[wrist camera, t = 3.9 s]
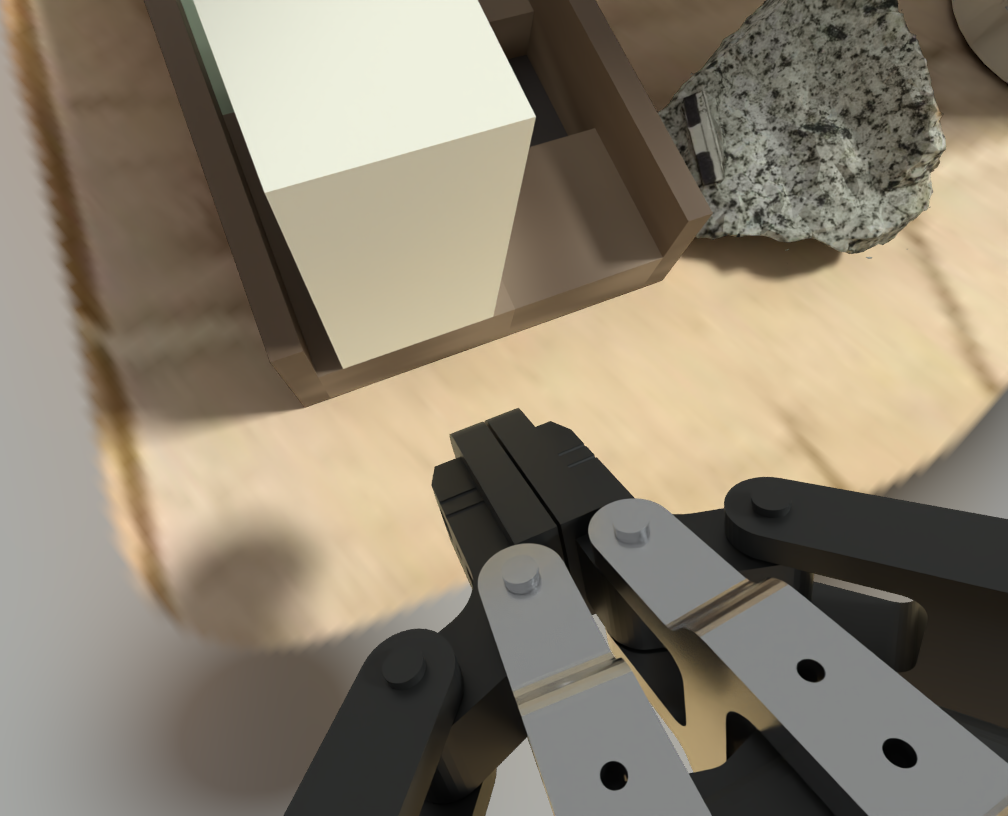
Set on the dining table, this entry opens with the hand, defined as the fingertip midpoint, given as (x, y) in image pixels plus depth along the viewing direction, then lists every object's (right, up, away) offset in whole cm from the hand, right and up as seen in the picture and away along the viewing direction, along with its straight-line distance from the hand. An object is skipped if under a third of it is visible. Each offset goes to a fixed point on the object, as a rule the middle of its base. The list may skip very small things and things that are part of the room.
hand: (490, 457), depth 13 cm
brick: (-4, +7, +6) cm, 10 cm away
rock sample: (+10, +9, +10) cm, 17 cm away
